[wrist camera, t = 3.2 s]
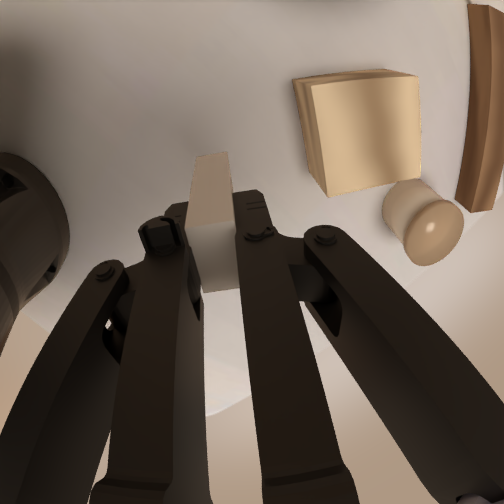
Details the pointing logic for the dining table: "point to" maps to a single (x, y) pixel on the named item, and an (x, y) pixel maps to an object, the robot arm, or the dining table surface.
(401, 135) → the block
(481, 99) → the board
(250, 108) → the dining table surface
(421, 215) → the sugar pot
